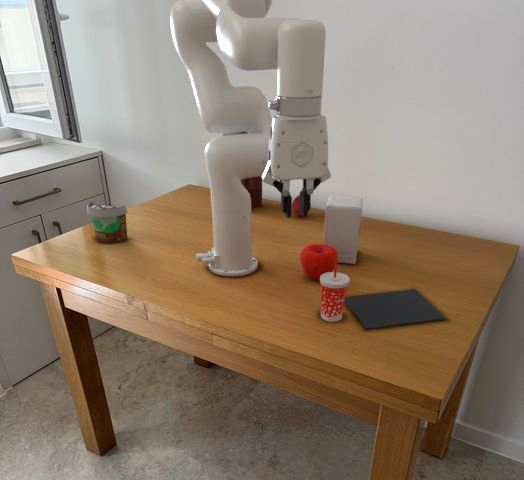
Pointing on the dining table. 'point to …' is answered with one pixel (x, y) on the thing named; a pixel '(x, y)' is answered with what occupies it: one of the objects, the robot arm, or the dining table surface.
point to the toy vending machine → (252, 184)
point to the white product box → (343, 226)
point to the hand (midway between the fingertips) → (295, 214)
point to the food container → (108, 222)
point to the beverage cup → (333, 294)
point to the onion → (297, 206)
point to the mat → (392, 309)
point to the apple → (317, 260)
